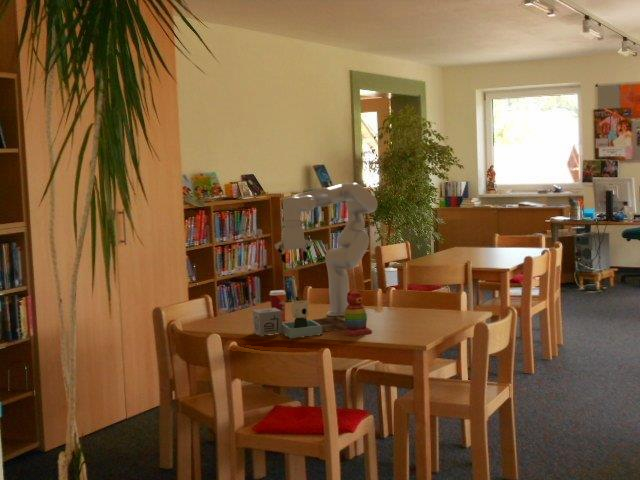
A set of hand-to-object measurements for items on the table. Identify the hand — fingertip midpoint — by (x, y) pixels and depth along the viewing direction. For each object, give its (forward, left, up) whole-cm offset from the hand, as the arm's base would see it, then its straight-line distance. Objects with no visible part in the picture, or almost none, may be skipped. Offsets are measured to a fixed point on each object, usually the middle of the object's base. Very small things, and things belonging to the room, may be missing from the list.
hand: (294, 261), depth 397 cm
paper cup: (+6, -12, -28) cm, 32 cm away
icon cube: (+17, +15, -28) cm, 37 cm away
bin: (+5, +24, -28) cm, 37 cm away
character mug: (+5, +24, -28) cm, 37 cm away
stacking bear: (-16, +36, -28) cm, 49 cm away
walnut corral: (-10, +16, -28) cm, 34 cm away
